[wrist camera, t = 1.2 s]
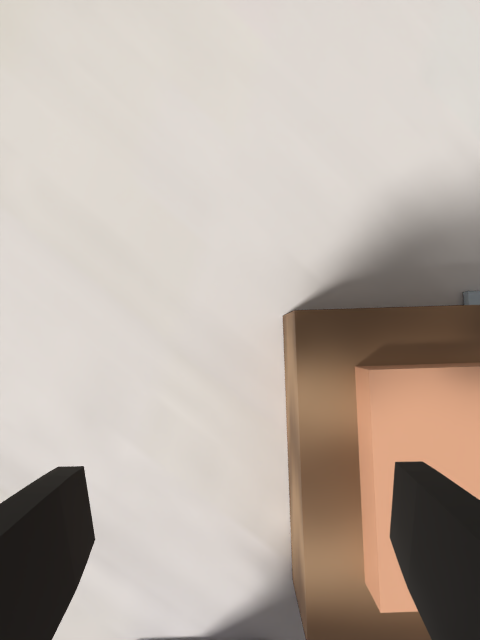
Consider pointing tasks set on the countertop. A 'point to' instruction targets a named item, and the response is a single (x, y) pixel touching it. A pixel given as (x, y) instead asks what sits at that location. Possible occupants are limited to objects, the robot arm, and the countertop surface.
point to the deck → (349, 451)
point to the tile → (411, 451)
